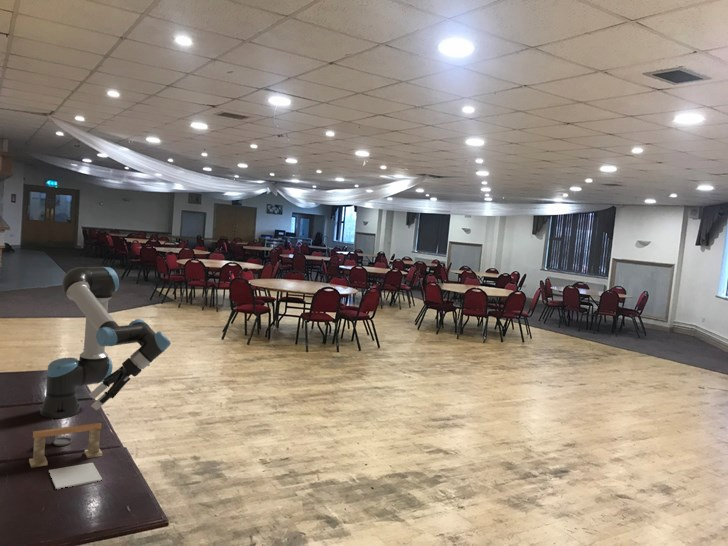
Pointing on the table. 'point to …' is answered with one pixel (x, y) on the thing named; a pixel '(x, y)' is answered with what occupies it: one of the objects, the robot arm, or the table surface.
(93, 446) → the posts
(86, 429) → the bar
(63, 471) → the mat
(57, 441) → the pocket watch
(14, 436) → the table surface
